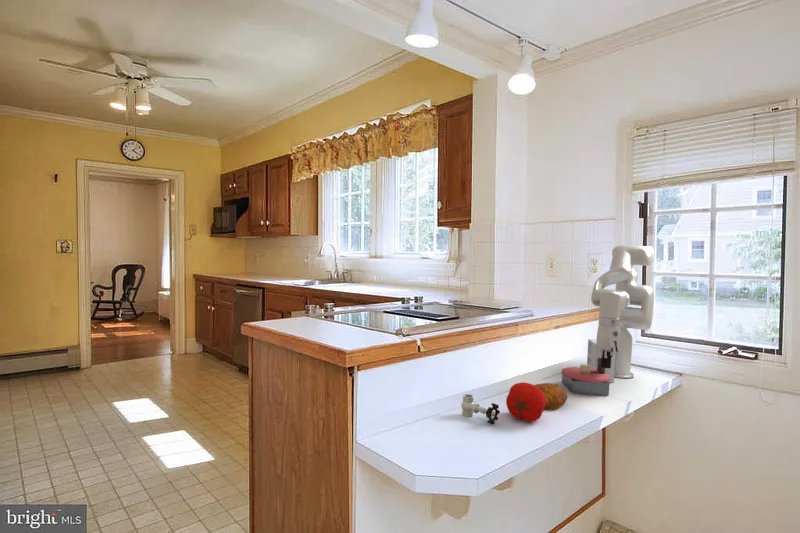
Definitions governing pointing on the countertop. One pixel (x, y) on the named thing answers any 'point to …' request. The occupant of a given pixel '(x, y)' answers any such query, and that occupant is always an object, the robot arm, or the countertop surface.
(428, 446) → the countertop surface
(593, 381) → the handwheel
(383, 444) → the countertop surface
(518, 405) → the tomato
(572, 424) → the countertop surface
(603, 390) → the housing
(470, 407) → the valve
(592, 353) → the supplement box
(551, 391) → the croissant
